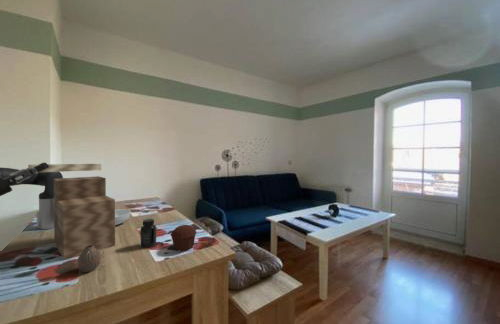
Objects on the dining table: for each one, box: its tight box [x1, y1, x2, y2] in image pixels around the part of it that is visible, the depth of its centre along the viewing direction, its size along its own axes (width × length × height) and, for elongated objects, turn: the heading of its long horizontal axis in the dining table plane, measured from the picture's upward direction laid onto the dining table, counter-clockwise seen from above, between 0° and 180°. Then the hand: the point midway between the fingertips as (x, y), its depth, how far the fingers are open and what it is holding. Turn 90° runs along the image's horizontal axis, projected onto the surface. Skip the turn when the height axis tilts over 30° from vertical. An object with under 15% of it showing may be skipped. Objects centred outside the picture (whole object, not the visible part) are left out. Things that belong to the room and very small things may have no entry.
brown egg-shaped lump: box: [76, 245, 102, 273], centre depth 76 cm, size 7×7×9 cm
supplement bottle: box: [139, 218, 157, 248], centre depth 97 cm, size 7×7×12 cm
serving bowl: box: [115, 208, 132, 226], centre depth 125 cm, size 21×21×7 cm
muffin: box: [170, 224, 198, 252], centre depth 95 cm, size 12×11×10 cm
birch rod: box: [27, 163, 102, 173], centre depth 87 cm, size 23×3×3 cm, turn 140°
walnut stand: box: [53, 175, 116, 261], centre depth 97 cm, size 18×26×31 cm
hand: (46, 164), depth 82 cm, fingers closed on birch rod, 3 cm apart
